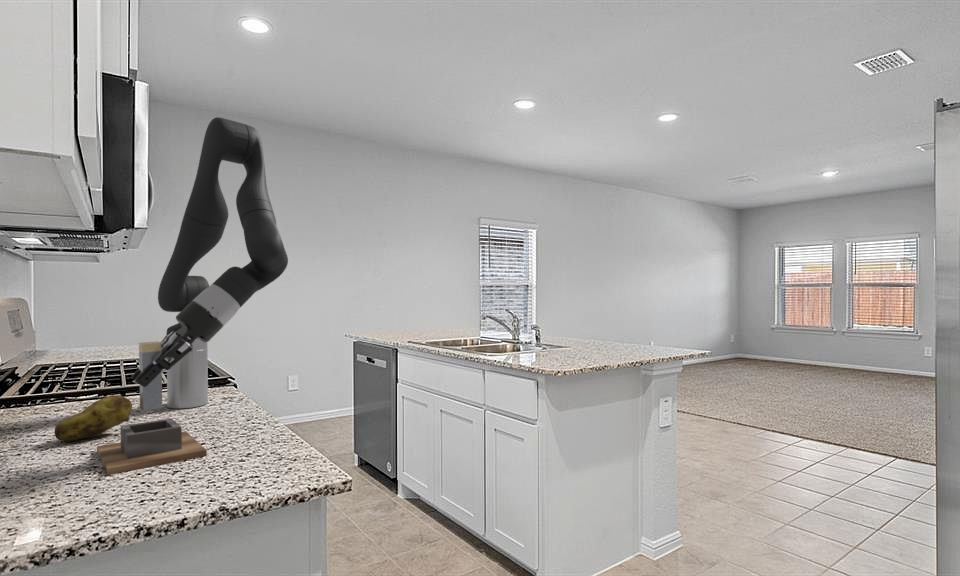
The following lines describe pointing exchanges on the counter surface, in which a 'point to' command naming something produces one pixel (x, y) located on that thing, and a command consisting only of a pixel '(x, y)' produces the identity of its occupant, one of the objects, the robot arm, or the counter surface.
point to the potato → (95, 419)
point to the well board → (149, 446)
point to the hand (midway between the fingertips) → (137, 382)
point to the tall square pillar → (153, 390)
